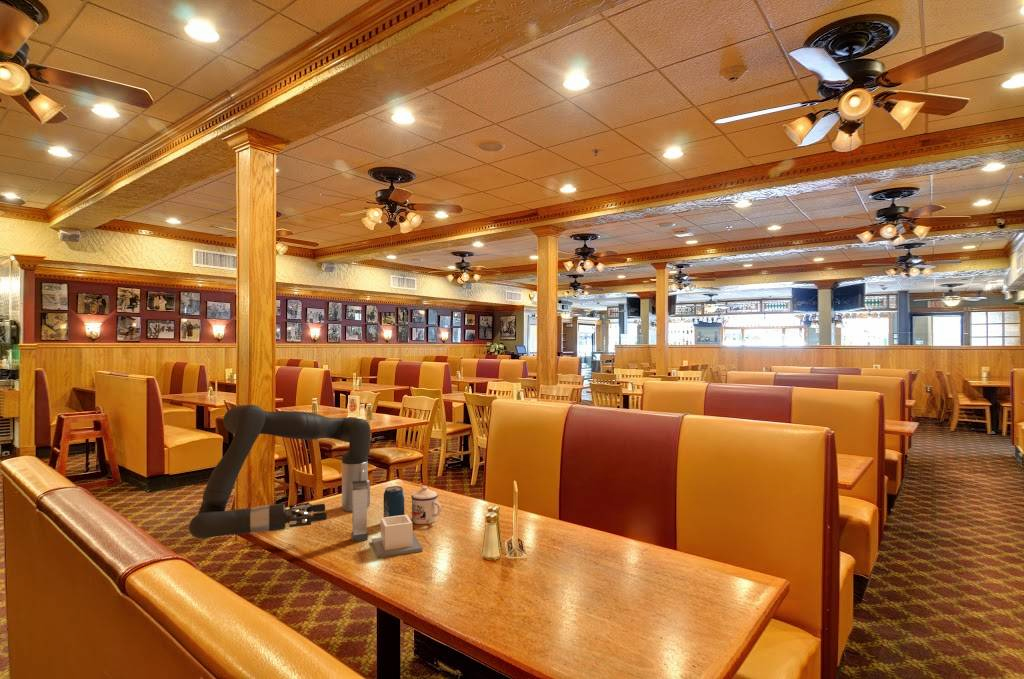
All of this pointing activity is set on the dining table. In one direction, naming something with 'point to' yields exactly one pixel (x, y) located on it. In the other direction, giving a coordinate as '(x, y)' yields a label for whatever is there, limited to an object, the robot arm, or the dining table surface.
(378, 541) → the white square socket
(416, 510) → the teacup with lid
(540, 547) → the dining table surface
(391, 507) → the soda can
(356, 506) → the white grey rectangular bar
